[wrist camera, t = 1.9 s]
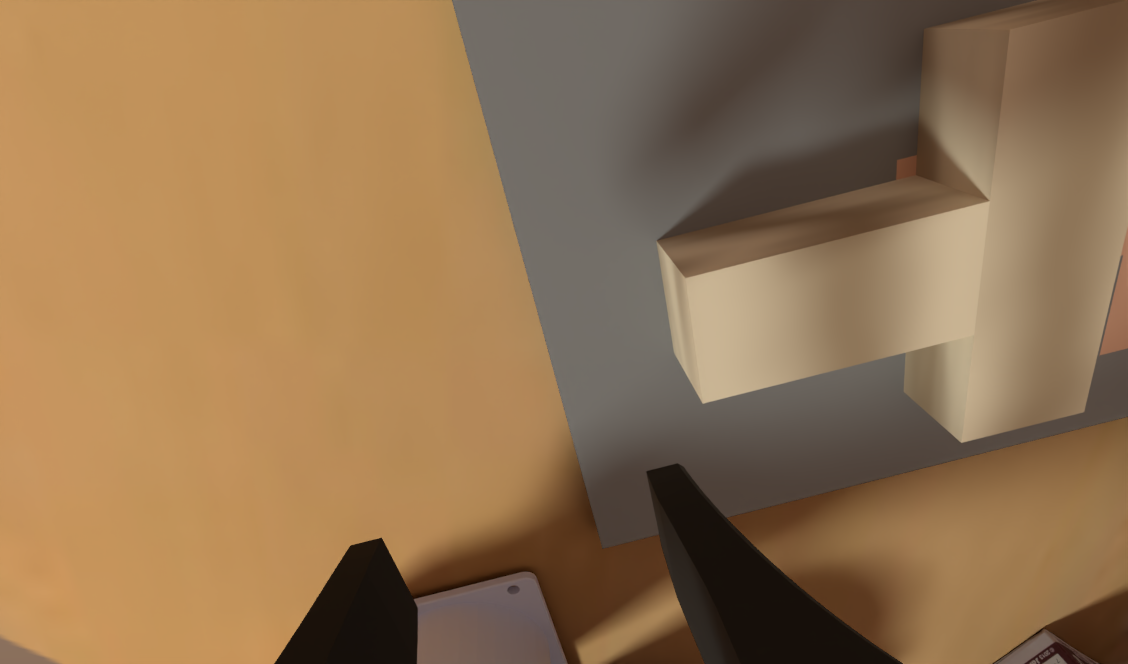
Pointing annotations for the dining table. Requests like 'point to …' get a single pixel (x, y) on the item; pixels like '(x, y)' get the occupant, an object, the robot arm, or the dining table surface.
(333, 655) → the robot arm
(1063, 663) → the supplement box
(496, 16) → the board
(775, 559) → the dining table surface
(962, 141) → the t block
